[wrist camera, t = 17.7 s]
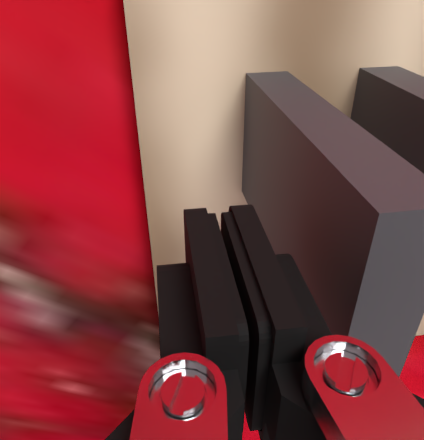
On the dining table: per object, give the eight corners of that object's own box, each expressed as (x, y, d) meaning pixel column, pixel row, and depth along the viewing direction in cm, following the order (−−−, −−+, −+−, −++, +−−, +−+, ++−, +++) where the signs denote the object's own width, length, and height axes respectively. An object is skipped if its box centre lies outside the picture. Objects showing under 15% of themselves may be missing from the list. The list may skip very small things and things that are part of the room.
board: (163, 356, 24) (164, 371, 23) (120, -38, 13) (119, -37, 13) (545, 305, 28) (559, 317, 27) (758, -44, 17) (794, -44, 16)
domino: (241, 190, 18) (333, 393, 10) (246, 73, 15) (379, 213, 7) (276, 187, 18) (396, 383, 10) (287, 71, 15) (466, 205, 7)
